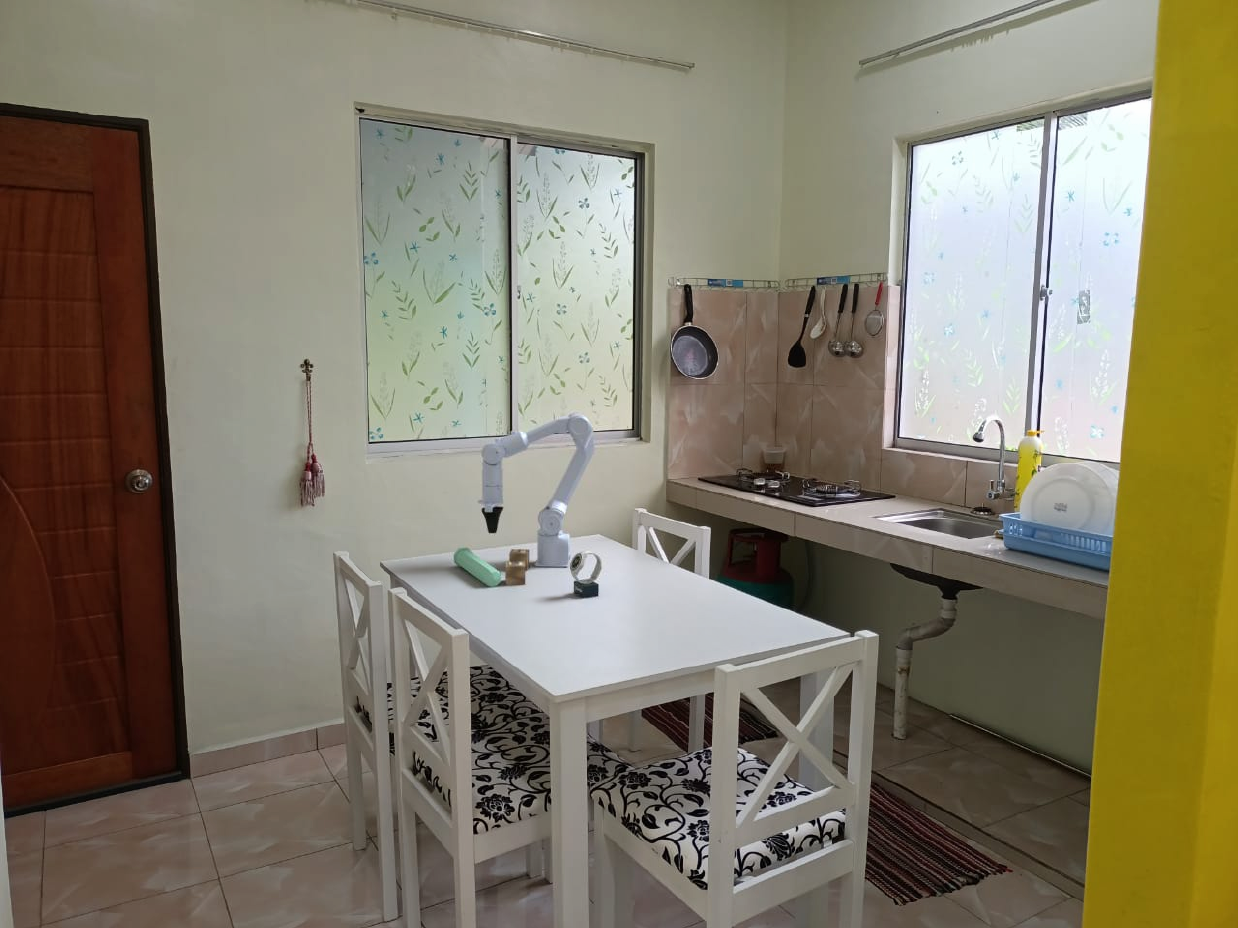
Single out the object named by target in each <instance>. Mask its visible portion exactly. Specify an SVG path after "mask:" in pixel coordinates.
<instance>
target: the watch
mask: <svg viewBox="0 0 1238 928" xmlns="http://www.w3.org/2000/svg"><path fill="white" fill-rule="evenodd" d="M588 555H593V556H594V557H595V559H596V563H595V566H594V569H593V571H592V573H591V574H590V577H589V578H586V579H579V578H578V577H577V576H578V575H579V573H580V572H581V570H582V569H583V568H584V566H585V564H586V559H587V557H588ZM602 566H603V565H602V559H601V558H600V556H599V555H598V554H597V553H594V552H592V551H590V550H584V551H581V552H578V553H576V554H575V555H574V556H573V557H572V559H571V560H570V562H569V570H570V573H571V576H572V577H573V578H574V580H573V593H574V594H575V595H576V596H578V595H579V596H578V597H580V598H582V599H588V598H597V597H599V594H600V593H599V591H600V590H599V589H600V588H599V587H600V586H599V583H597V582H595V581H596V580H597V579H598V577H599V575H600V573H601V572H602V571H601V570H602ZM596 596H597V597H596Z"/></svg>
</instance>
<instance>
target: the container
mask: <svg viewBox="0 0 1238 928" xmlns="http://www.w3.org/2000/svg"><path fill="white" fill-rule="evenodd" d="M453 563H454V564H455V565H457V567H459V566H461V567H460V568H462V569H464V570H465V571H466V570H467V571H466V572H468V573H471V574H470V575H472V576H473V577H475V578H476V579H477V580H479V581H480V583H481V582H482V583H483V584H484V585H486V586H487V587H489V588H493V587H497V586H498V585H499V584H500V583H501V581H502V577H501V576H502V573H501V572H499V570H497V568H495V567H493V565H490V564H489V563H488V562H487V561H485V560H483V559H481V558H480V557H479V556H478V555H476V554H475V553H474V552H473V551H472V550H470V549H469V548H468V547H459V548H458V549H456V551H455V552H454V553H453Z"/></svg>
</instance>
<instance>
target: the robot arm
mask: <svg viewBox="0 0 1238 928" xmlns="http://www.w3.org/2000/svg"><path fill="white" fill-rule="evenodd" d="M555 434H560V435H568V434H569V435H570V436H571V437H572V439H573V443H574V445H575V448H576V450H575V452H574V454H572V455H573V456H572V457H571V460H570V462H569V463H568V465H567V468H566V469H565V472H564V474H563V476H562V478H561V479H560V482H559V483H558V485H557V488H556V490H555V491H554V494H553V495H552V497H551V499H549V501H548V503H547V504H546V506H545V507H544V508H543V509H541V510H540V511H539V513H538V515H537V522H538V524H539V525H540V528H539V529H538V530H537V537H536V538H537V539H536V540H537V543H536V544H537V546H536V548H537V549H536V550H537V552H536V554H537V555H536V556H537V557H536V561H535V563H534V567H549V568H551V567H552V568H553V567H558V568H568V567H569V566H570V563H571V556H572V555H571V538H570V537H571V536H570V535H571V534H570V533H564V532H563V529H562V528H563V525H564V522H563V520H564V517H565V515H566V511H567V508H568V506H569V503H570V501H571V498H572V497H573V495H574V493H575V491H576V489H577V487H578V485H579V483H580V481H581V480H582V477H583V475H584V473H585V471H586V469H587V467H588V466H589V463H590V462H591V459H592V457H593V455H594V454H595V451H596V446H595V438H594V428H593V425H592V423H591V422H590V420H589V419H588V417H586V416H585V415H583V414H582V413H579V412H572V413H570V414H569V415H563V416H560V417H558V418H554V419H552V420H550V421H548V422H546V423H543V424H541V425H539V426H537V427H535V428H533V429H530V430H528V431H526V432H523V431H522V430H518V431H516V429H515V430H511V431H510V434H508V435H505V436H503V437H501V438H499V437H497V438H494V442H493V441H490V442H486V444H484V446H483V447H482V449H481V452H480V453H481V457H482V469H481V494H482V495H481V497H482V498H481V499H479V500H477V504H481V505H483V506H484V507H482V508H481V512H482V515H483V518H484V520H485V523H486V527H487V528H486V529H487V532H488V534H496V533H497V532H498V528H499V521H500V518H501V514H502V512H503V509H504V507H503V506H502V505H503V504H504V499H503V497H504V495H503V491H504V490H503V489H504V488H503V487H504V485H503V480H504V477H503V475H504V473H503V472H504V469H503V467H502V464H503V463H502V462H503V459H504V458H505V459H508V458H511V457H512V456H515V455H517V454H519V453H522V452H524V451H527V450H528V448H529V445H530V444H532V443H533V442H536V441H539V440H541V439H543V438H547V437H549V436H552V435H555ZM500 505H501V506H500Z"/></svg>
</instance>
